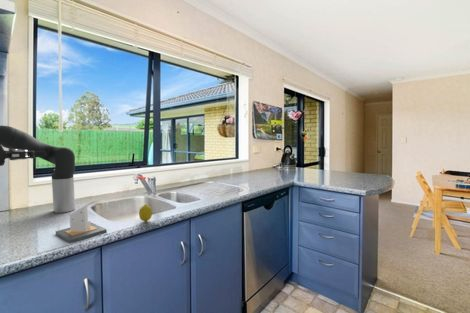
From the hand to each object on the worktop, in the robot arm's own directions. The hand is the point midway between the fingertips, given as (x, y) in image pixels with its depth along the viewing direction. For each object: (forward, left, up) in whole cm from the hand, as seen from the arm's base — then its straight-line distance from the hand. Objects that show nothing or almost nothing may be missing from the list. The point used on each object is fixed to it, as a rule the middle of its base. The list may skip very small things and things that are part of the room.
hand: (42, 153), depth 94 cm
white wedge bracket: (+11, +8, -31) cm, 34 cm away
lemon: (+20, +31, -32) cm, 49 cm away
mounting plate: (+11, +8, -32) cm, 35 cm away
